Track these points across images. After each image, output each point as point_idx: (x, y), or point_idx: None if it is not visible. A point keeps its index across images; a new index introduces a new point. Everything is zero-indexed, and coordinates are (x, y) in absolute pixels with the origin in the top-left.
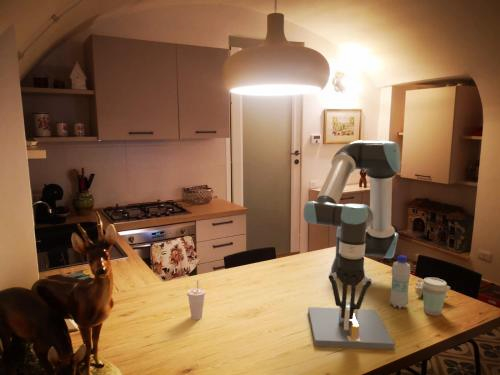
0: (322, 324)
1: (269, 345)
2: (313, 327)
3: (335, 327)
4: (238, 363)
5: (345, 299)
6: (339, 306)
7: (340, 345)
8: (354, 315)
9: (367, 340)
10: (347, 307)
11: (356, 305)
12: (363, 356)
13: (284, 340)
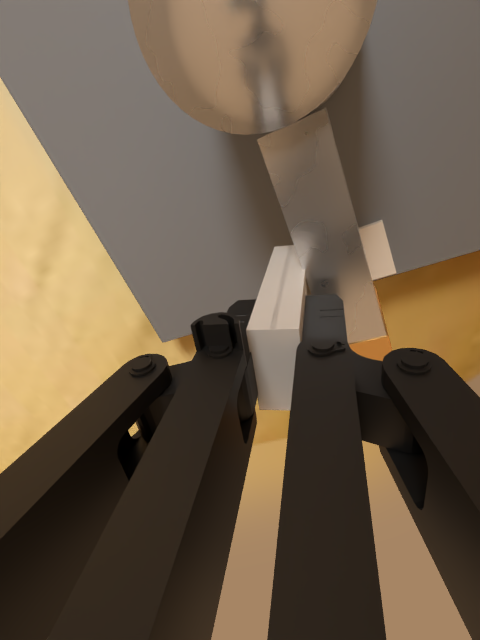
0: (121, 161)
1: (37, 375)
2: (97, 227)
3: (208, 158)
4: None
5: (230, 513)
6: (148, 61)
7: None
8: (346, 189)
9: (445, 235)
10: (270, 356)
11: (388, 467)
12: (407, 324)
13: (53, 329)
